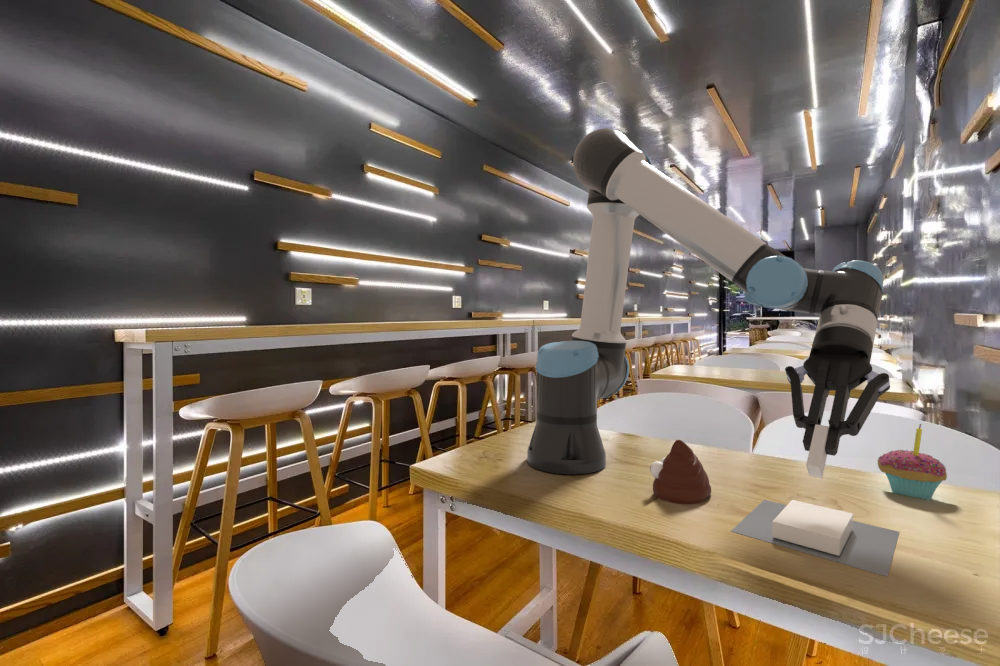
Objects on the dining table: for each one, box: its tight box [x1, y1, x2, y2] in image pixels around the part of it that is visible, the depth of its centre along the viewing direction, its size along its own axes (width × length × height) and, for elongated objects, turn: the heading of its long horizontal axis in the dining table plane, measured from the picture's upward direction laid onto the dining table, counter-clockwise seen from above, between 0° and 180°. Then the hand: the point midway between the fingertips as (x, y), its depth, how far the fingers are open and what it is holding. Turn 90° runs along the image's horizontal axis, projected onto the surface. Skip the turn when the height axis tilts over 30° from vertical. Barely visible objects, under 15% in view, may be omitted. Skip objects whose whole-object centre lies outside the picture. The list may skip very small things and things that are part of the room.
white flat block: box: [772, 499, 854, 556], centre depth 62 cm, size 7×2×10 cm
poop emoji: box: [649, 439, 712, 505], centre depth 77 cm, size 10×8×9 cm
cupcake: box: [877, 423, 948, 501], centre depth 78 cm, size 9×8×12 cm
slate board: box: [730, 499, 900, 578], centre depth 63 cm, size 16×15×1 cm
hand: (814, 471), depth 64 cm, fingers closed
